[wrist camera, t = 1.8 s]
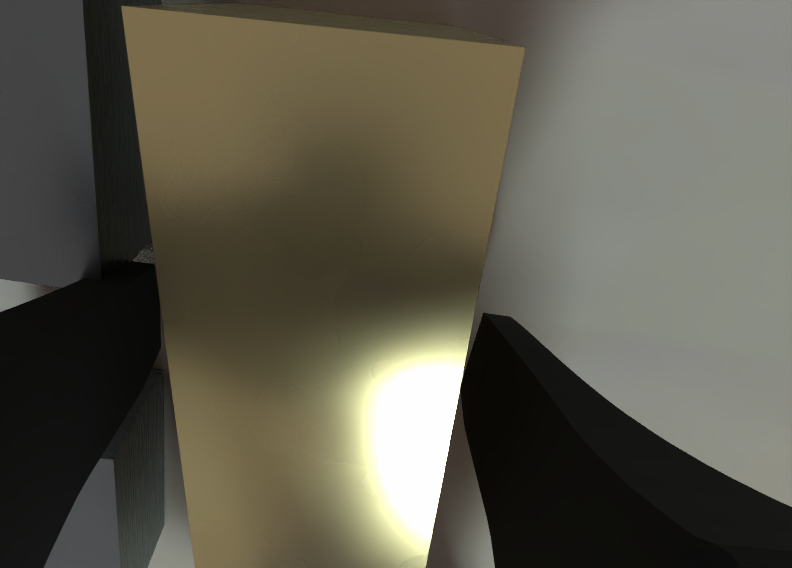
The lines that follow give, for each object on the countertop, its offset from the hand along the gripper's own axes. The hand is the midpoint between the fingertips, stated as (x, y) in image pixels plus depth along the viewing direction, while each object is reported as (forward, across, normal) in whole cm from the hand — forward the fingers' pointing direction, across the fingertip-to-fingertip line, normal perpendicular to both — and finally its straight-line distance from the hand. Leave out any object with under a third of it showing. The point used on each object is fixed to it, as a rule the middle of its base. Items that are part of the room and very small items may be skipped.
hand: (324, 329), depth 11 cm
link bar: (+2, 0, 0) cm, 2 cm away
